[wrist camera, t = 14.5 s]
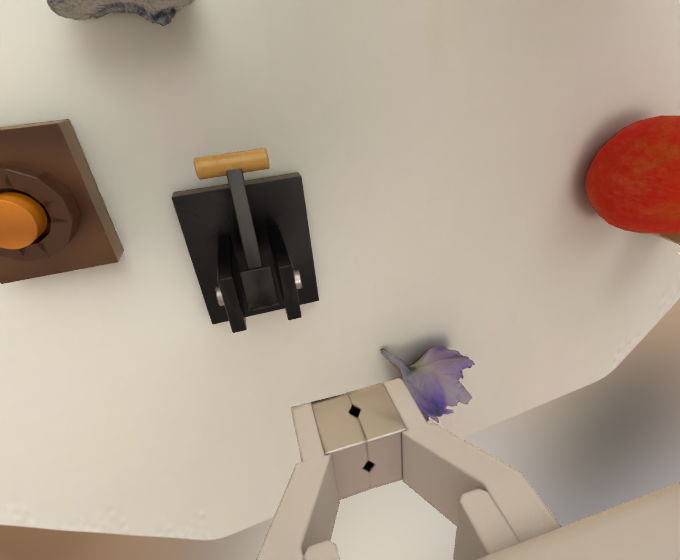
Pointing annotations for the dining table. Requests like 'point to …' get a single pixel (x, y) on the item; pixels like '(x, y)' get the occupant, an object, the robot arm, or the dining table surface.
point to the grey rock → (118, 8)
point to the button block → (55, 202)
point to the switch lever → (244, 220)
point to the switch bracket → (227, 252)
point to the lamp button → (20, 220)
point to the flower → (435, 380)
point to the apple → (639, 177)
